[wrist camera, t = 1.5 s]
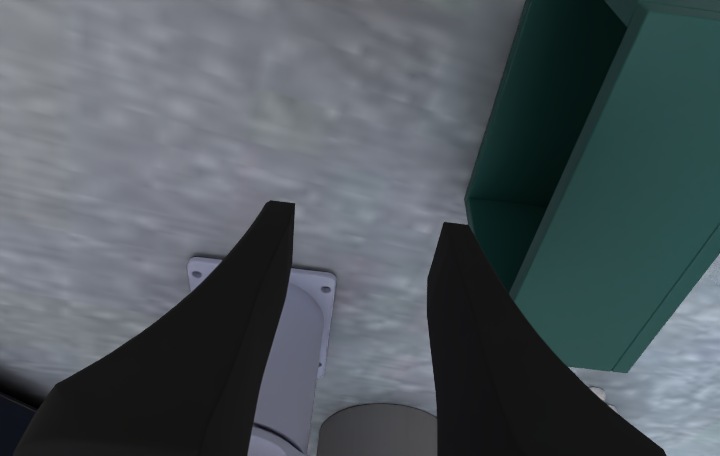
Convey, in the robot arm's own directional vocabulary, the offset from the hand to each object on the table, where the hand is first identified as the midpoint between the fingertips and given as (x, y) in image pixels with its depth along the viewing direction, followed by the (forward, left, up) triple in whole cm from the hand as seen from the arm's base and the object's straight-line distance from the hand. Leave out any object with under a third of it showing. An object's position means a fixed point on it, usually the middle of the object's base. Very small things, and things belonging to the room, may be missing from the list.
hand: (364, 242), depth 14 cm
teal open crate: (0, -7, -10) cm, 13 cm away
